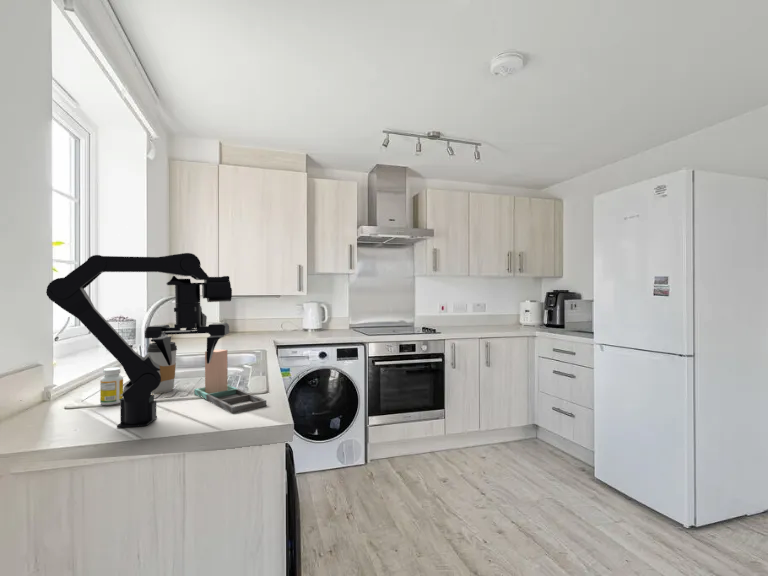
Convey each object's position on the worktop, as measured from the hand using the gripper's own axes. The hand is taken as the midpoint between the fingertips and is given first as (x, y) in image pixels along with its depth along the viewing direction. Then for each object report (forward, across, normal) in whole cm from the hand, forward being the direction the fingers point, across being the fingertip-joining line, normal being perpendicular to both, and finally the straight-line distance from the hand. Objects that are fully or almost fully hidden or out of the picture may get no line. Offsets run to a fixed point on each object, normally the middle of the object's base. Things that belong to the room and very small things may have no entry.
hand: (189, 364), depth 102 cm
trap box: (+13, -6, -14) cm, 20 cm away
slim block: (+13, -1, -21) cm, 25 cm away
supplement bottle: (+13, +26, -16) cm, 33 cm away
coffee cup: (+13, +17, -28) cm, 35 cm away
